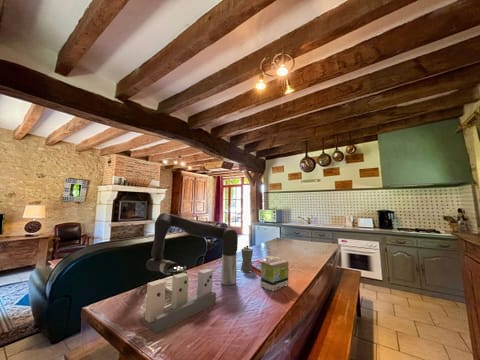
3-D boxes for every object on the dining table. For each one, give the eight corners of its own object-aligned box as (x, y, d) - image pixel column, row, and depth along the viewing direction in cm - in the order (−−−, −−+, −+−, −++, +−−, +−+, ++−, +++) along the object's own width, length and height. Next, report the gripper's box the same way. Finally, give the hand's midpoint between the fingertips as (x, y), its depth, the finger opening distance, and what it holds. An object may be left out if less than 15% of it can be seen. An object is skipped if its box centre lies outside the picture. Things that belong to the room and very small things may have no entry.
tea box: (273, 292, 113) (273, 265, 115) (260, 286, 120) (260, 261, 122) (288, 285, 123) (288, 260, 124) (276, 281, 130) (276, 257, 132)
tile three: (196, 301, 98) (198, 271, 100) (206, 296, 103) (207, 268, 104) (202, 304, 95) (204, 273, 97) (212, 299, 100) (213, 270, 102)
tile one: (144, 318, 82) (147, 283, 84) (158, 313, 86) (160, 279, 88) (150, 323, 79) (152, 285, 81) (163, 316, 84) (166, 281, 85)
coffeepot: (255, 272, 145) (255, 247, 148) (242, 273, 143) (243, 247, 146) (249, 266, 160) (250, 243, 163) (238, 266, 158) (238, 243, 160)
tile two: (170, 307, 91) (172, 275, 93) (182, 303, 96) (183, 272, 97) (176, 311, 88) (178, 278, 90) (187, 306, 93) (189, 274, 95)
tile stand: (140, 320, 83) (141, 307, 84) (198, 295, 107) (199, 285, 107) (156, 333, 75) (157, 319, 75) (215, 303, 99) (216, 292, 99)
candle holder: (281, 274, 143) (281, 257, 145) (277, 278, 134) (277, 260, 136) (268, 272, 147) (268, 255, 149) (264, 276, 138) (264, 258, 140)
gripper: (178, 271, 125) (195, 277, 114) (158, 277, 115) (175, 285, 104) (178, 259, 126) (195, 264, 115) (158, 263, 116) (175, 269, 105)
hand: (186, 274), depth 109 cm, fingers closed
